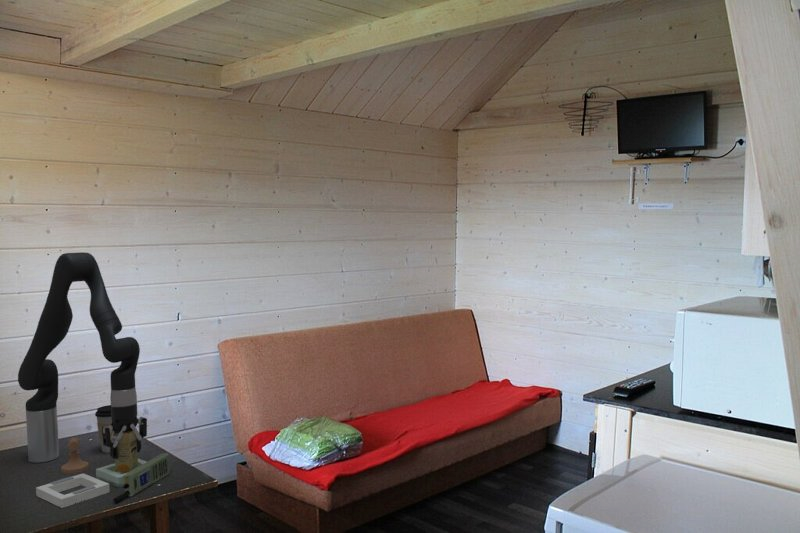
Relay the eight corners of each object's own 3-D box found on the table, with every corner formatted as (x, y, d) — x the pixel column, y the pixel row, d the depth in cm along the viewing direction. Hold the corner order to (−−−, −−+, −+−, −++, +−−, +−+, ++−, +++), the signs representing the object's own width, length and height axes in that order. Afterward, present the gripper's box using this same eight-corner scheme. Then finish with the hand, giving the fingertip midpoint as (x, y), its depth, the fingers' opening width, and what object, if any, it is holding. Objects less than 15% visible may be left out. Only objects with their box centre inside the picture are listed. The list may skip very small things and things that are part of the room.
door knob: (59, 444, 217) (60, 437, 224) (60, 475, 217) (61, 467, 225) (87, 440, 220) (87, 434, 227) (88, 471, 220) (88, 463, 228)
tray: (96, 478, 213) (95, 469, 213) (134, 466, 224) (134, 457, 224) (118, 487, 206) (118, 477, 205) (157, 474, 216) (157, 465, 216)
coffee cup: (101, 446, 245) (99, 404, 244) (129, 445, 246) (127, 403, 245) (92, 455, 236) (90, 412, 235) (121, 453, 237) (119, 410, 236)
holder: (36, 496, 200) (36, 486, 200) (83, 481, 211) (83, 472, 211) (61, 508, 191) (61, 498, 191) (109, 492, 202) (109, 482, 202)
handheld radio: (171, 474, 217) (120, 505, 193) (162, 473, 218) (110, 504, 194) (170, 453, 217) (118, 481, 193) (161, 452, 218) (108, 481, 194)
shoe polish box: (138, 466, 217) (136, 428, 216) (131, 471, 212) (129, 433, 211) (122, 466, 217) (121, 428, 216) (115, 471, 212) (113, 433, 211)
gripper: (138, 396, 221) (140, 446, 222) (95, 405, 210) (97, 459, 211) (151, 399, 217) (153, 451, 218) (108, 409, 205) (110, 464, 206)
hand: (126, 455), depth 214 cm, fingers closed on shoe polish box, 7 cm apart
